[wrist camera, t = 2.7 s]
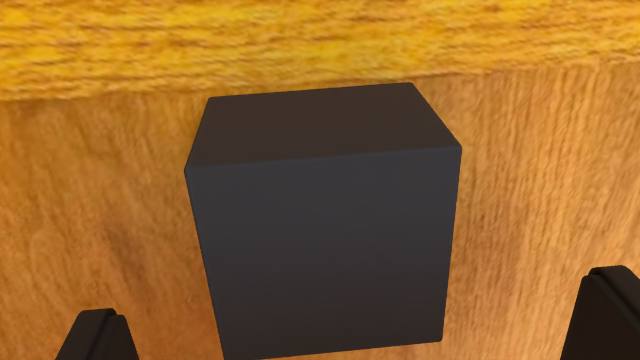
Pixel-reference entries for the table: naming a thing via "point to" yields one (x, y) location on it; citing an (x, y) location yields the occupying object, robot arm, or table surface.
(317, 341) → the black square block
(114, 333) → the robot arm
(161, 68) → the table surface
